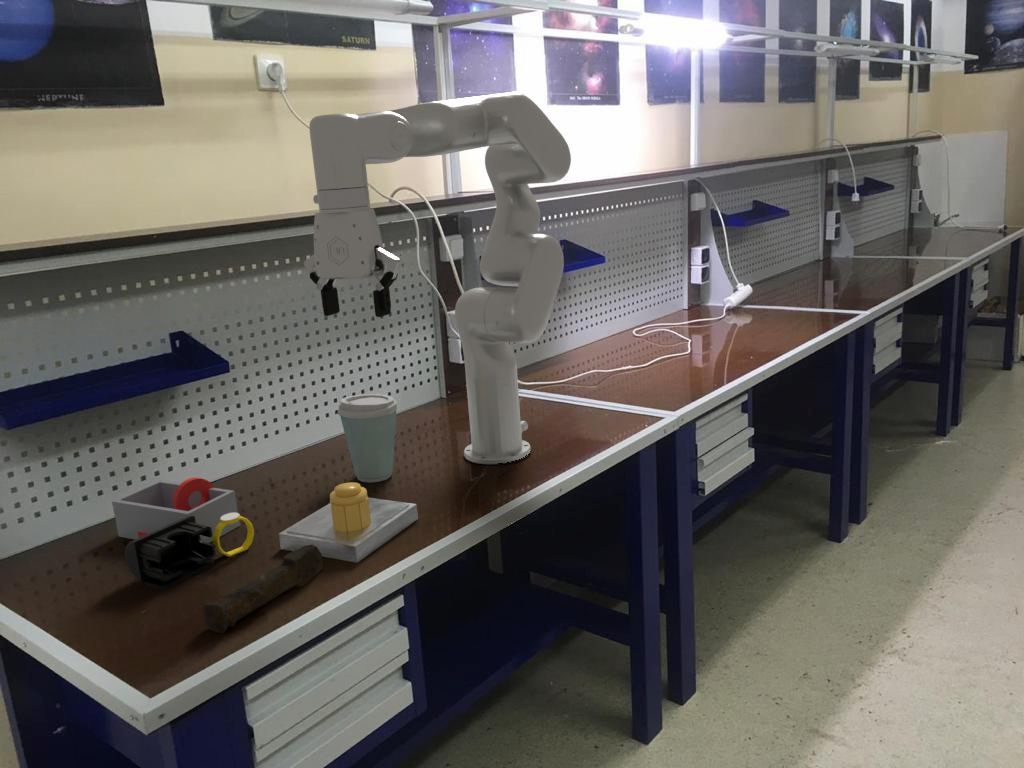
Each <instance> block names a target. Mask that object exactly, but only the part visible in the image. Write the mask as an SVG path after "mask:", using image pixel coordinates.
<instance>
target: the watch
mask: <svg viewBox="0 0 1024 768" xmlns="http://www.w3.org/2000/svg"><path fill="white" fill-rule="evenodd" d="M220 519H221V522H220V523H219V524H218V525H217V527H216V528H215V531H214V534H213V541H212V542H213V543H212V544H213V545H214V546H215V551H216V550H217V552H218V553H219V554H221V555H224V556H226V557H228V558H231V557H233V556H235V555H237V554H240V553H242V552H245V551H248V550H249V548H250V547H251V545H252V543H253V541H254V536H255V531H254V525H253V524H252V522H251V521H250V520H249V519H248V518H247V517H243V516H241V514H240V513H239V512H238V513H228V514H225V515H223V516H222V517H221V518H220ZM240 520H241V521H242V522H243V523H244V524H245V526H246V529H247V530H246V531H247V533H246V539H245V540H244V542H243V543H242V545H241V546H240V547H236V548H235V549H232V550H230V551H227V552H226V551H224V549H223V548H222V547H221V543H220V542H221V541H220V538H221V537H220V535H221V532H222V529H223V528H224V527H225V526H226V525H227V524H233V523H236V522H238V521H239V522H240Z"/></svg>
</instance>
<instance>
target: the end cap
mask: <svg viewBox="0 0 1024 768" xmlns="http://www.w3.org/2000/svg"><path fill="white" fill-rule="evenodd" d="M200 535H202V536H206V537H213V536H212V530H211V527H209V526H205V525H201V524H197V523H196V521H195V516H187V517H185V518H183V519H181V520H178V521H176V522H174V523H172V524H169V525H167V526H165V527H163V528H160V529H158V530H156V531H154V532H151V533H149V534H147V535H145V536H143V537H140V538H138V539H136V540H135V539H133V540H132V541H129V543H128V544H127V545H126V547H125V550H124V558H125V562H126V566H127V568H128V570H129V571H130V573H131V575H133V577H134V578H135V579H136V580H138V581H139V582H141V583H142V584H144V585H146V586H147V587H151V588H154V589H157V590H160V591H166V590H169V589H171V588H172V587H174V586H176V585H179V584H180V583H182V582H184V581H186V580H188V579H190V578H192V577H194V576H195V575H198V574H199V573H203V572H204V571H205V570H207V569H209V568H212V567H213V566H215V565H216V559H214V557H215V555H216V548H215V546H214V545H213V543H211V542H210V543H206V542H203V541H202V540H201V538H200Z"/></svg>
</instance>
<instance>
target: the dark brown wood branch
mask: <svg viewBox="0 0 1024 768" xmlns="http://www.w3.org/2000/svg"><path fill="white" fill-rule="evenodd" d="M322 569H324V559H323V557H322V554H321V553H320V551H319V549H318V548H317V546H314V545H306V546H303V547H301V548H300V549H298V550H295V551H290V552H288V553H287V554H286V555H284V556H283V562H282V563H280V564H278V566H276V567H275V568H273V569H271V570H270V571H268V572H266V573H264V574H262V575H261V576H258V577H256V578H255V579H253V580H251V581H250V582H249V583H248V582H247V584H245V585H243V586H241V587H239V588H236V590H234V591H232V592H230V593H229V594H226V595H224V596H223V597H221V598H219V599H217V600H216V601H214V602H209V603H204V604H203V607H202V612H203V613H202V614H203V618H204V624H205V625H206V626H207V628H208V630H209V631H212V632H214V633H218V634H224V633H225V632H226V631H227V629H228V628H230V627H231V628H233V627H235V625H236V622H238V621H239V620H241V619H243V618H244V617H246V616H247V615H249V614H250V613H253V612H254V611H256V610H257V609H259V608H260V607H262V606H264V605H266V604H268V602H271V601H272V600H274V599H276V598H277V597H278V596H280V595H282V594H283V593H285V592H287V591H288V590H290V589H292V588H294V589H299V588H303V587H304V586H306V584H309V583H310V582H311V581H312V580H313V579H314V578H315V577H316V576H317V575H318V574H319V573H320V572H321V571H322Z"/></svg>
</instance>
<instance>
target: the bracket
mask: <svg viewBox="0 0 1024 768" xmlns="http://www.w3.org/2000/svg"><path fill="white" fill-rule="evenodd" d="M180 483H181V484H180V485H179V486H178V488H177V489H176V491H175V493H174V497H173V507H174V509H177V510H183V511H190V510H192V509H194V508H196V507H198V506H200V505H202V504H204V503H206V502H208V501H210V497H209V491H208V489H210V488H215V485H214V484H213V483H212V482H210V481H209V480H207V479H205V478H202V477H197V476H195V477H190V478H187V479H185V480H184V481H182V482H180ZM195 491H200V493H201V495H202V499H201V502H200V503H199V504H198V505H197V506H195V507H190V506H189V503H188V499H189V497H190V495H191V494H192V493H193V492H195ZM145 535H147V533H142V532H138V536H139V538H140V537H143V536H145Z"/></svg>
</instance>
